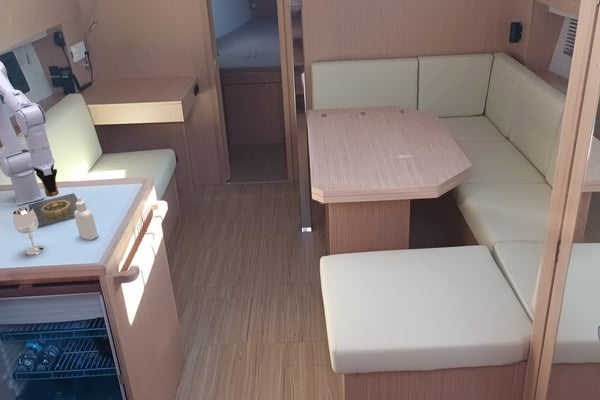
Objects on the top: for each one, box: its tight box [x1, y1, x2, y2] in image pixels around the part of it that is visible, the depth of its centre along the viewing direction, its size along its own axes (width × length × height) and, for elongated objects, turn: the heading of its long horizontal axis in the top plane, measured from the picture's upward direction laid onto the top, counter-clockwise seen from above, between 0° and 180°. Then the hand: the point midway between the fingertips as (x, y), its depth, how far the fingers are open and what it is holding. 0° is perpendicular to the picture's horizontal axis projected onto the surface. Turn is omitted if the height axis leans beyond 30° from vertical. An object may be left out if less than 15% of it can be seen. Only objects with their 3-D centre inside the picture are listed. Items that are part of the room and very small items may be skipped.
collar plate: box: [27, 192, 78, 229], centre depth 172 cm, size 18×14×2 cm
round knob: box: [41, 181, 59, 198], centre depth 167 cm, size 4×4×5 cm
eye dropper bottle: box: [74, 196, 99, 241], centre depth 153 cm, size 4×6×12 cm
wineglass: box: [12, 206, 45, 256], centre depth 148 cm, size 6×6×12 cm
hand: (51, 190), depth 167 cm, fingers closed on round knob, 4 cm apart
